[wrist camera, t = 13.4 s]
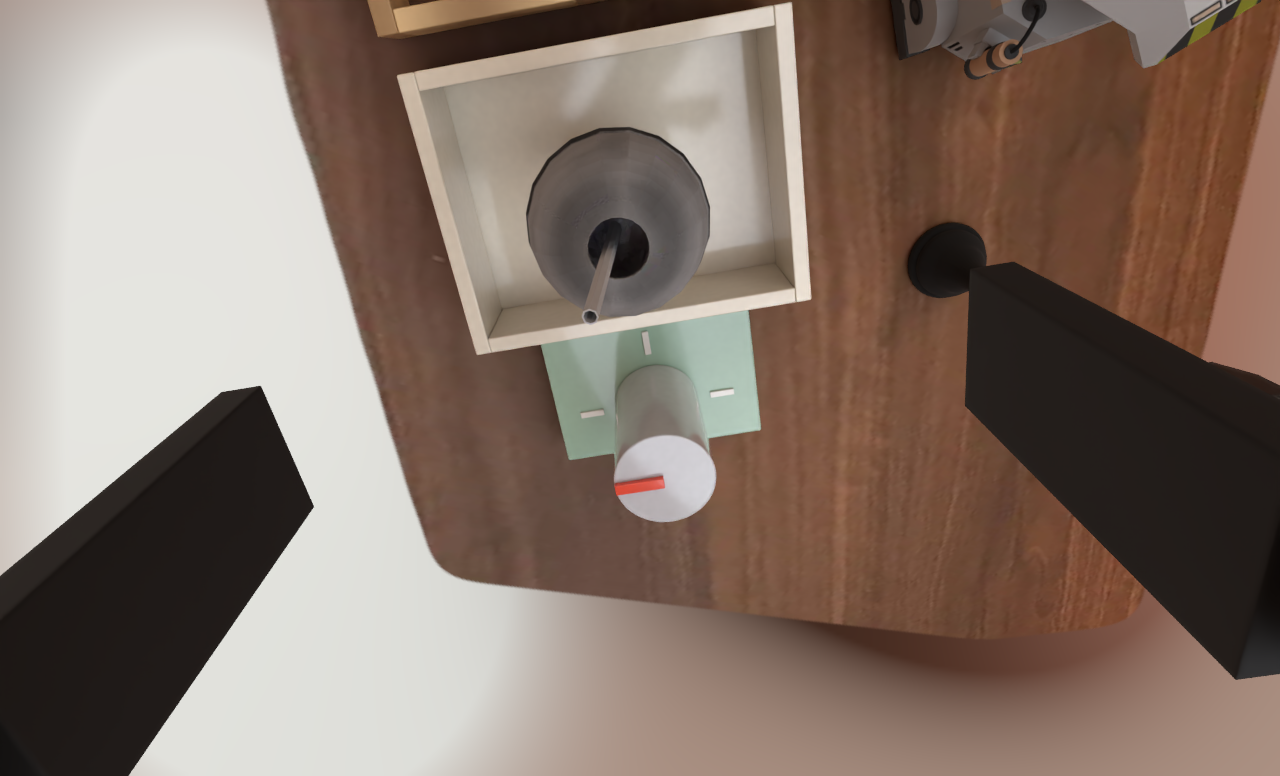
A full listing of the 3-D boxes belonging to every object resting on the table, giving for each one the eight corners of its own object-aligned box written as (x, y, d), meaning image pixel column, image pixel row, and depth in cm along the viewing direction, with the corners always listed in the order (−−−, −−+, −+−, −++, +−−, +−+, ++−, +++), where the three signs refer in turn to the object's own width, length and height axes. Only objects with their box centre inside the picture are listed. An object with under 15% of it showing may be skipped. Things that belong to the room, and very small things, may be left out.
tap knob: (693, 357, 41) (710, 430, 33) (703, 432, 43) (723, 518, 35) (608, 371, 41) (604, 447, 33) (623, 445, 43) (623, 533, 35)
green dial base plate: (741, 293, 42) (749, 308, 39) (756, 433, 46) (764, 454, 43) (543, 326, 42) (539, 342, 40) (576, 462, 46) (573, 483, 44)
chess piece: (938, 310, 42) (1025, 378, 33) (891, 263, 41) (968, 320, 32) (998, 256, 41) (1105, 311, 32) (951, 206, 40) (1049, 248, 31)
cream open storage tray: (767, 10, 35) (792, 1, 30) (787, 269, 41) (811, 300, 36) (428, 73, 36) (395, 75, 31) (494, 319, 42) (476, 355, 37)
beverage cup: (714, 177, 38) (800, 281, 20) (622, 273, 40) (625, 446, 22) (614, 76, 36) (609, 90, 18) (523, 183, 38) (435, 294, 20)
